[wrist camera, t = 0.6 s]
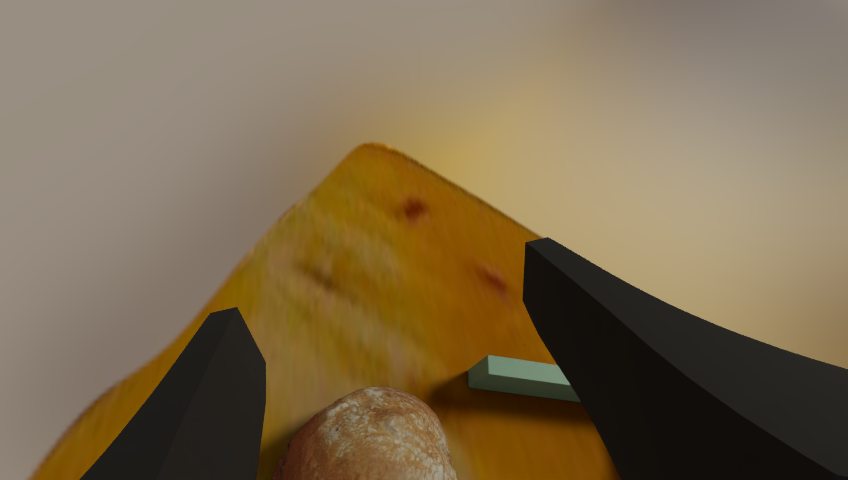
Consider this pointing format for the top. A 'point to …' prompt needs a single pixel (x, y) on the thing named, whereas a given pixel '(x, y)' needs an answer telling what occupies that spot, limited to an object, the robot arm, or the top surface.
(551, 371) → the teal shallow tray
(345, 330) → the top surface
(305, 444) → the bread roll
